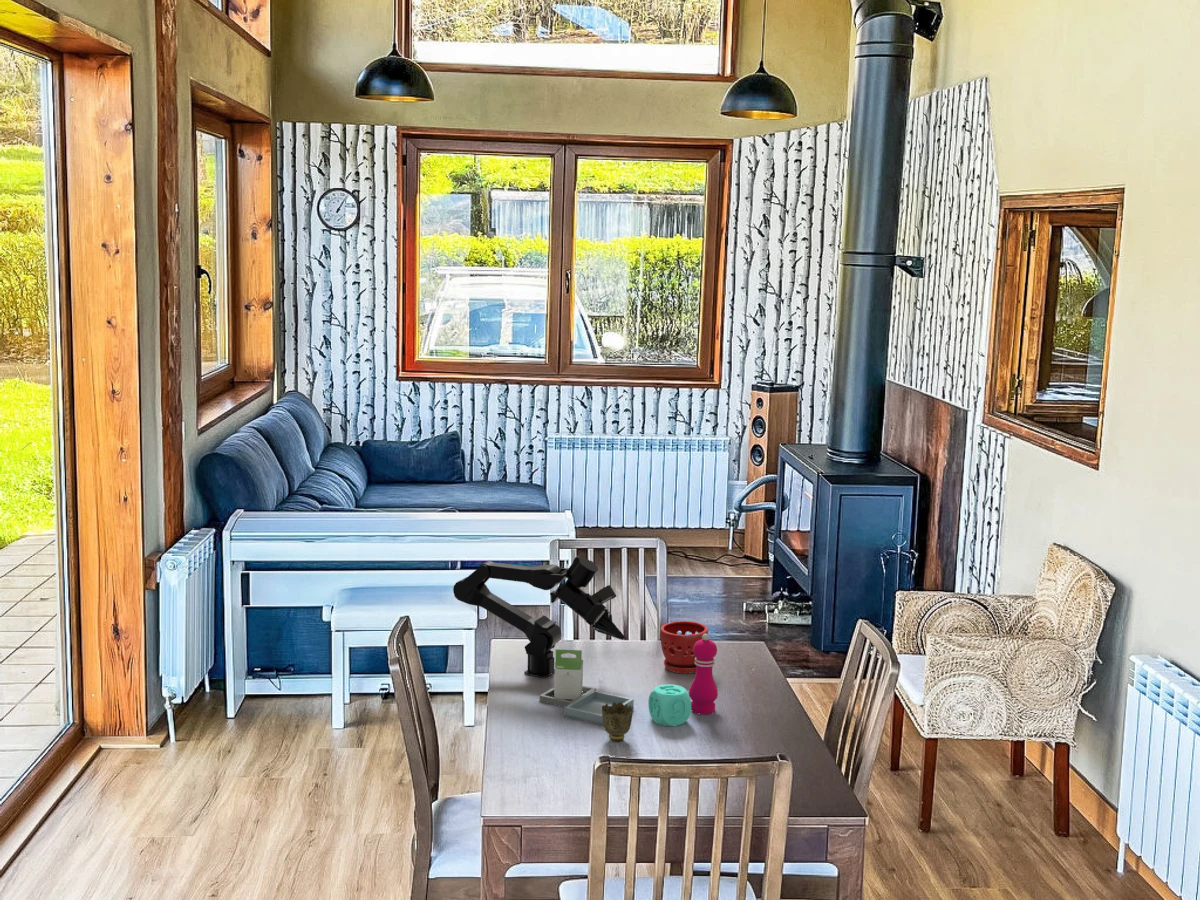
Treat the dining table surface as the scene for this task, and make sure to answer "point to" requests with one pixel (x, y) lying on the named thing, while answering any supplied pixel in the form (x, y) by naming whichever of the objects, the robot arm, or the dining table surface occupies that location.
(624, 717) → the cup
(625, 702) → the tray
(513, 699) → the dining table surface
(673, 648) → the plant pot
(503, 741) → the dining table surface
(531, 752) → the dining table surface
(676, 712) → the decorative dice
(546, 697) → the frame
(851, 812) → the dining table surface
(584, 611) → the robot arm
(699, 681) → the pepper mill
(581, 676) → the ink box
